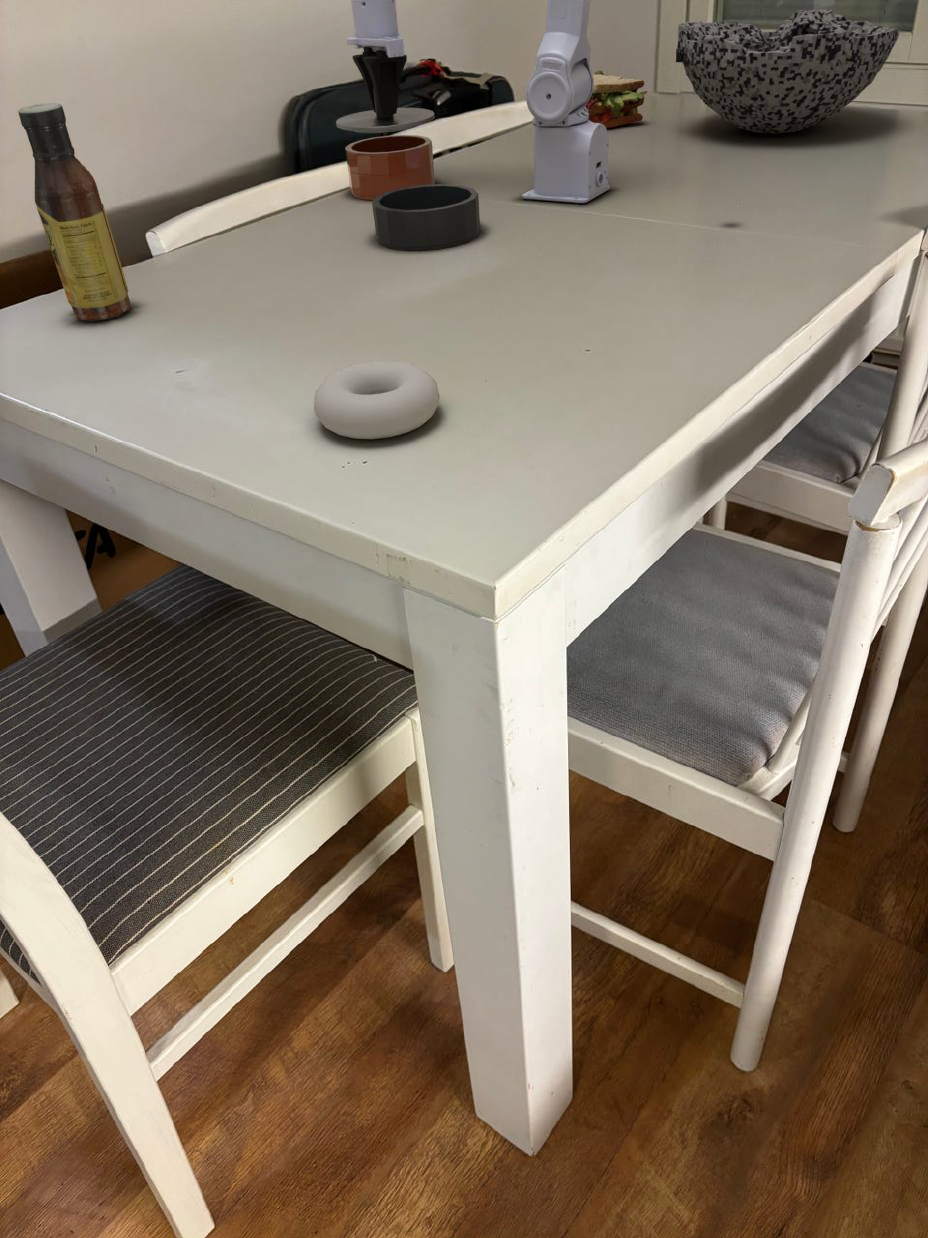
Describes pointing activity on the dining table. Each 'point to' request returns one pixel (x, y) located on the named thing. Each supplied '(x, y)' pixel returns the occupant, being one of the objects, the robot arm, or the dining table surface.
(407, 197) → the dark grey cake pan
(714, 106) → the bowl
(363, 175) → the pot
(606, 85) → the sandwich
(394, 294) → the dining table surface
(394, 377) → the donut
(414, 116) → the lid
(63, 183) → the sauce bottle
